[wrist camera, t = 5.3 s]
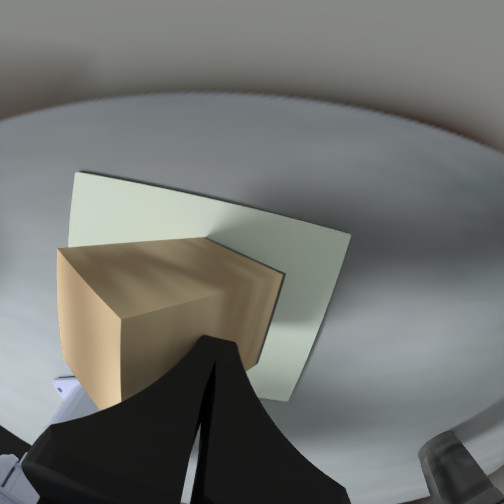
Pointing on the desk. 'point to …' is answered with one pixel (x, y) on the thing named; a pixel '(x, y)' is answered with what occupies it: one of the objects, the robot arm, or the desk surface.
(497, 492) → the beverage cup
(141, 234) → the mat
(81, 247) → the tan block
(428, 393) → the desk surface
